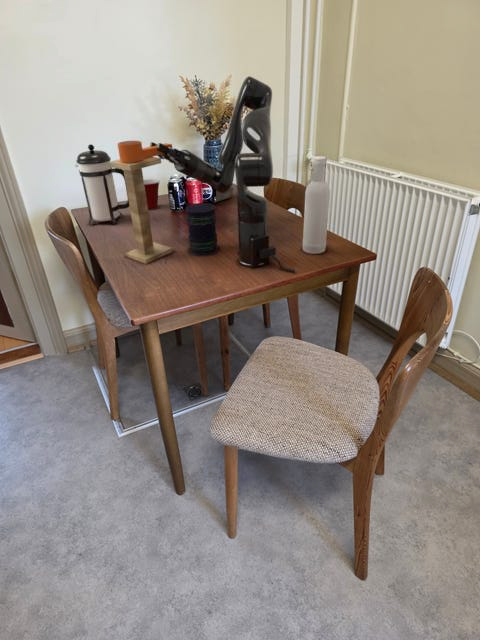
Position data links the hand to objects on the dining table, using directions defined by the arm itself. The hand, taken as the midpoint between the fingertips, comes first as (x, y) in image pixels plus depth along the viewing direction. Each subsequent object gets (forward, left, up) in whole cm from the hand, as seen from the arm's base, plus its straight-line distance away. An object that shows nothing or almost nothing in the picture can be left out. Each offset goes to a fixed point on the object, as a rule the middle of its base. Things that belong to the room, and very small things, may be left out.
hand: (154, 145), depth 132 cm
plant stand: (-3, +8, -34) cm, 35 cm away
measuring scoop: (-1, +3, -3) cm, 4 cm away
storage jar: (-10, -9, -34) cm, 37 cm away
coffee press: (+42, +9, -34) cm, 54 cm away
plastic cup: (+48, -12, -34) cm, 60 cm away
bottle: (-32, -40, -34) cm, 62 cm away
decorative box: (+38, -40, -34) cm, 65 cm away
